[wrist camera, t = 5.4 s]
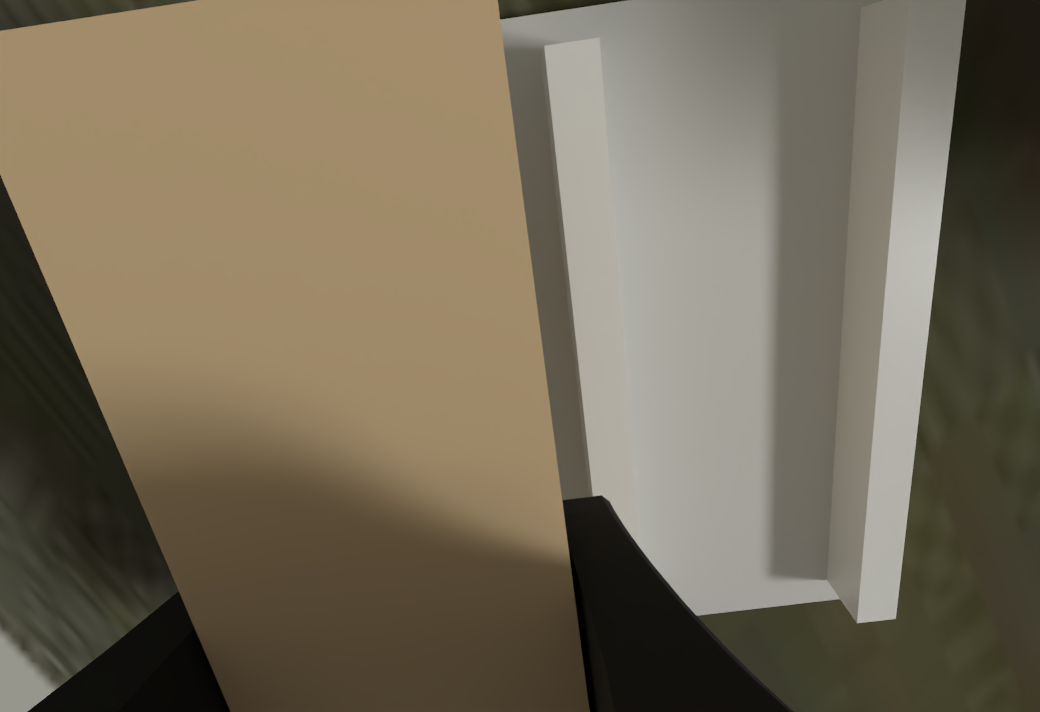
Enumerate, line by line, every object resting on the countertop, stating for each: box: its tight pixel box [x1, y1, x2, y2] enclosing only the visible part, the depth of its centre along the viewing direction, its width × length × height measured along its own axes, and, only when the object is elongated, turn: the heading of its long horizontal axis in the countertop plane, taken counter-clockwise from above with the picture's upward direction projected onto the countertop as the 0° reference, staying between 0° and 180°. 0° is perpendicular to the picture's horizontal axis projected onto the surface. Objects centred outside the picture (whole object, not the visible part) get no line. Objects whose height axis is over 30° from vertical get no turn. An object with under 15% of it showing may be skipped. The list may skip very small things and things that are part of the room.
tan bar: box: [0, 0, 590, 712], centre depth 9 cm, size 14×4×5 cm, turn 8°
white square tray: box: [500, 0, 966, 623], centre depth 14 cm, size 16×16×3 cm
